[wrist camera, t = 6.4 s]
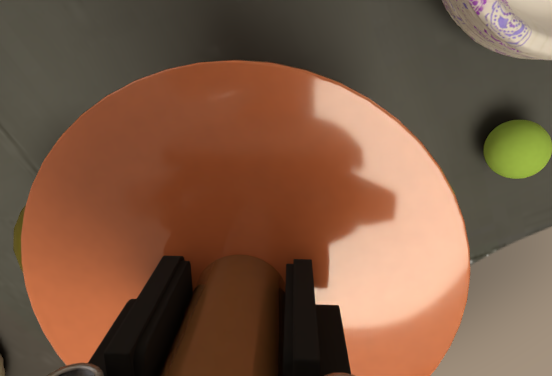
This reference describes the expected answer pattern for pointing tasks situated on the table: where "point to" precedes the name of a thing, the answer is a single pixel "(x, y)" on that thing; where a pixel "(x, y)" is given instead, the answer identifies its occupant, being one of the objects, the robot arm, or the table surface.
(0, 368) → the sea urchin shell
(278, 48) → the table surface
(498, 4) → the paper bowls
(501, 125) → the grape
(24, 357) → the table surface
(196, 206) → the lid
